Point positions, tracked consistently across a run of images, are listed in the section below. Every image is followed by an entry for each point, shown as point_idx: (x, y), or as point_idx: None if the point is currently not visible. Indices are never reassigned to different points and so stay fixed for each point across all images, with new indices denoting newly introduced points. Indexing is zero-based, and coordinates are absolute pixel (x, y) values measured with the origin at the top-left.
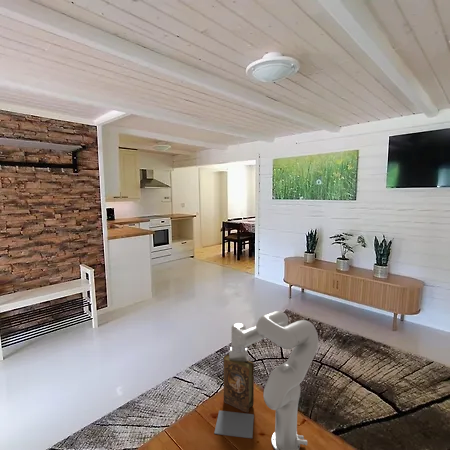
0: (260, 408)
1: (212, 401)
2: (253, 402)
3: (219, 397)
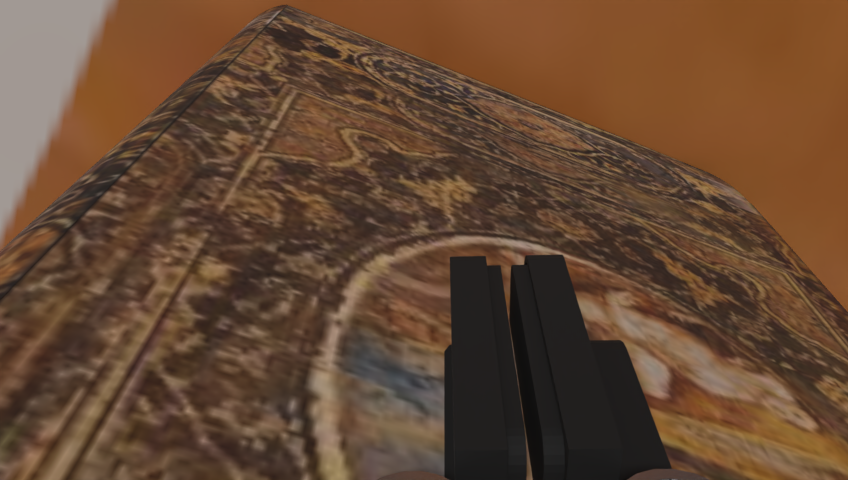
0: (841, 191)
1: (52, 182)
2: (760, 218)
3: (124, 73)
